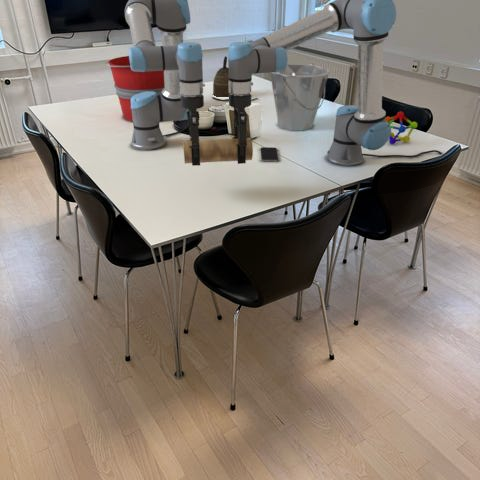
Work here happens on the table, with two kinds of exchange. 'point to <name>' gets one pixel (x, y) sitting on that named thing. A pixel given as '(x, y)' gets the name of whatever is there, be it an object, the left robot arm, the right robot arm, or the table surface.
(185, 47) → the left robot arm
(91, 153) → the table surface
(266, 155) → the smartphone
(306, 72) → the bucket
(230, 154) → the brown cylinder
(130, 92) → the bucket
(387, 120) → the educational toy
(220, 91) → the bell
